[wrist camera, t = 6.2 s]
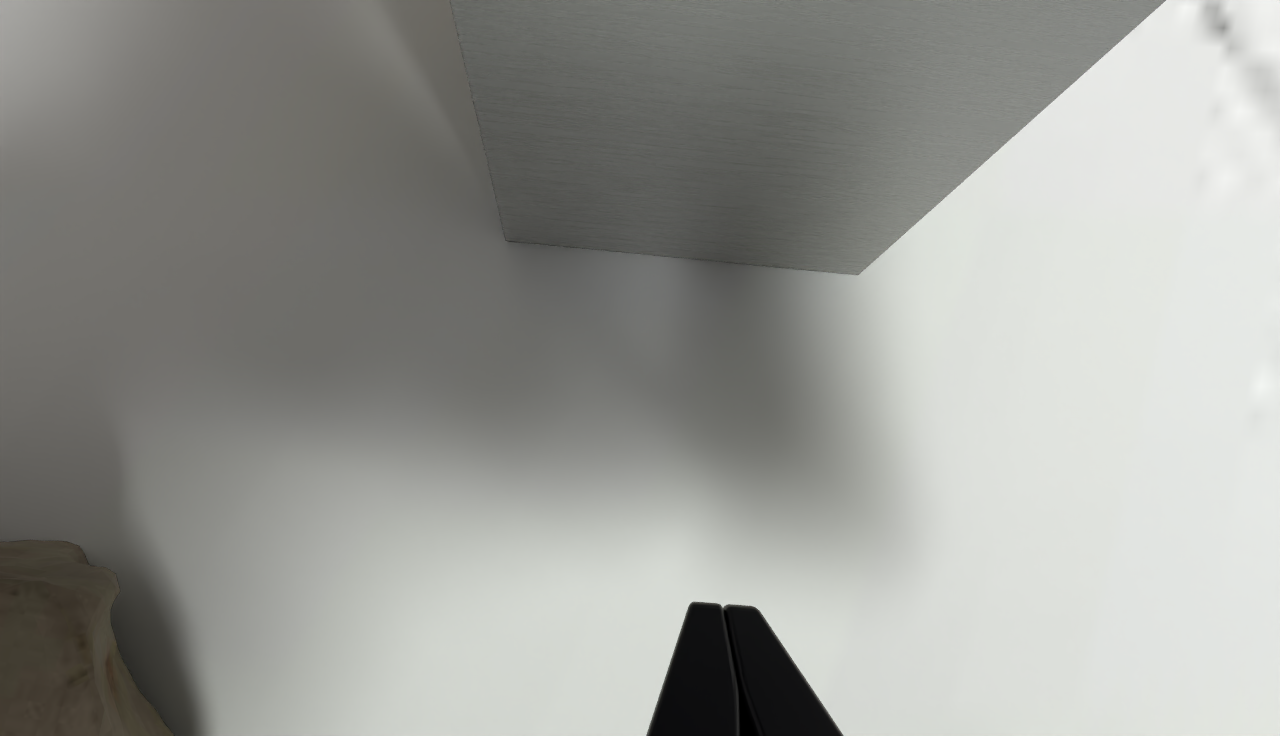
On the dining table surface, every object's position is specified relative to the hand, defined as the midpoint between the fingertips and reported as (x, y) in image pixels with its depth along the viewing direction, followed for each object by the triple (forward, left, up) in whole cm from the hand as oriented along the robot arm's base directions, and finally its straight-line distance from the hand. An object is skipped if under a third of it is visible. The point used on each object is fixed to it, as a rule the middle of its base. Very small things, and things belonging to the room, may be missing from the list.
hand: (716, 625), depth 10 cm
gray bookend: (+9, -9, -7) cm, 15 cm away
